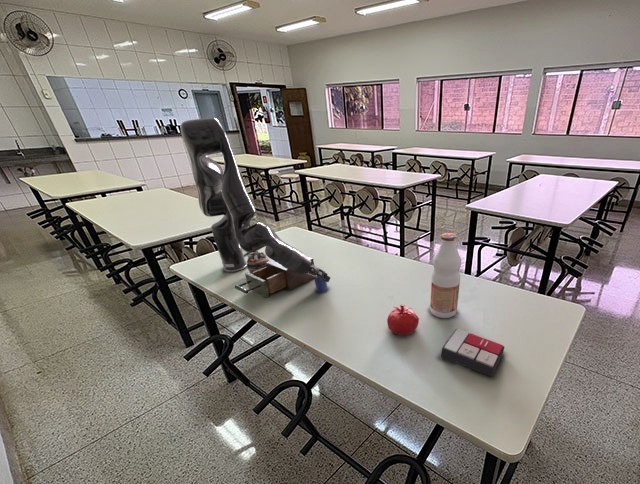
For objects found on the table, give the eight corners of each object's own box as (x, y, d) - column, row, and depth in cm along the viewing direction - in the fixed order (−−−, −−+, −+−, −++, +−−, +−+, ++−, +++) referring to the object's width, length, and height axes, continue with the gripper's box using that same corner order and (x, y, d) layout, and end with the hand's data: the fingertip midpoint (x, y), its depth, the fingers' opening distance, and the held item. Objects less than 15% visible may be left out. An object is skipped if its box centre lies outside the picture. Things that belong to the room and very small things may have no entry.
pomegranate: (408, 343, 97) (408, 317, 92) (381, 332, 102) (380, 308, 97) (423, 326, 104) (424, 302, 99) (398, 317, 109) (397, 294, 104)
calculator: (494, 367, 82) (441, 346, 89) (491, 379, 85) (440, 357, 91) (505, 344, 91) (456, 326, 97) (502, 355, 93) (454, 337, 99)
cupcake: (244, 277, 136) (238, 255, 130) (260, 268, 143) (255, 247, 138) (262, 281, 133) (256, 259, 127) (277, 271, 140) (273, 250, 135)
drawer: (251, 305, 115) (246, 288, 111) (234, 295, 120) (229, 279, 117) (294, 284, 128) (291, 269, 124) (276, 277, 134) (273, 262, 130)
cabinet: (289, 290, 126) (285, 270, 121) (270, 281, 132) (265, 262, 128) (316, 277, 135) (313, 258, 131) (296, 269, 142) (293, 251, 137)
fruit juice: (439, 321, 107) (444, 242, 92) (425, 307, 114) (428, 232, 100) (462, 314, 110) (471, 237, 96) (447, 301, 118) (453, 228, 103)
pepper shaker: (314, 288, 127) (311, 268, 122) (325, 286, 129) (322, 265, 124) (318, 293, 124) (315, 272, 119) (329, 290, 126) (326, 269, 121)
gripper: (312, 255, 108) (341, 274, 122) (285, 246, 115) (316, 265, 129) (302, 275, 107) (332, 291, 121) (276, 264, 114) (308, 281, 128)
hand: (324, 277), depth 125 cm, fingers open, 4 cm apart
